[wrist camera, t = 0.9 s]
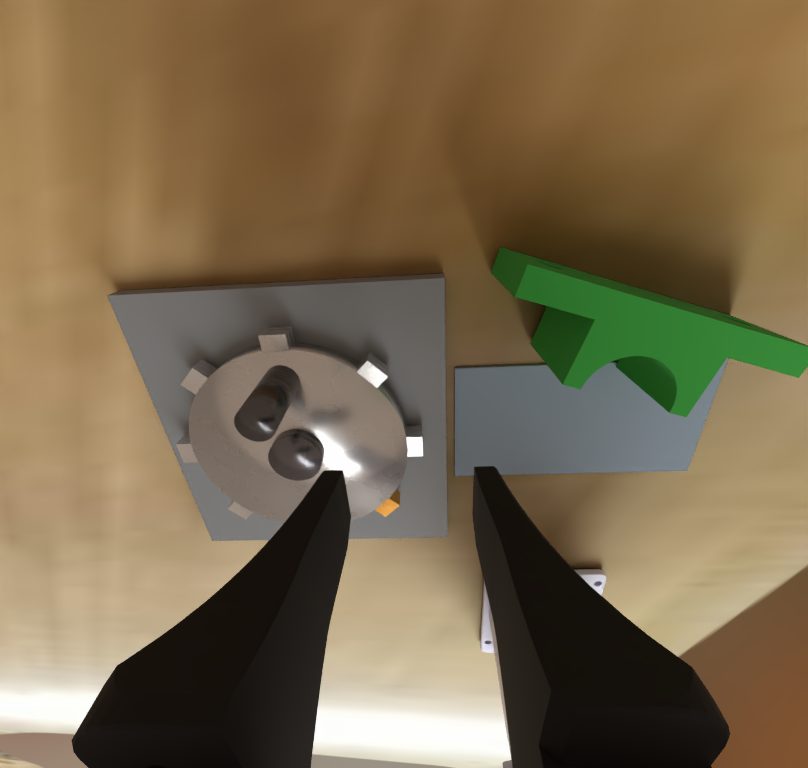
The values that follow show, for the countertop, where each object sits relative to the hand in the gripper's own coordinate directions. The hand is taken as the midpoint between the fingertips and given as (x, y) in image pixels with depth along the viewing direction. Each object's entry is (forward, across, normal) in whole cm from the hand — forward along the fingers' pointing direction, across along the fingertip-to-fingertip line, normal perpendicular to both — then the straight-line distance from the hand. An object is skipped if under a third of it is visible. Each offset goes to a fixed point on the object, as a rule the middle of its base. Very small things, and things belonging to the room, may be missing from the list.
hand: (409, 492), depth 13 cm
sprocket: (+8, +6, +3) cm, 11 cm away
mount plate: (+8, +6, +3) cm, 11 cm away
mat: (+8, -9, +3) cm, 12 cm away
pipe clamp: (+9, -9, -2) cm, 12 cm away
